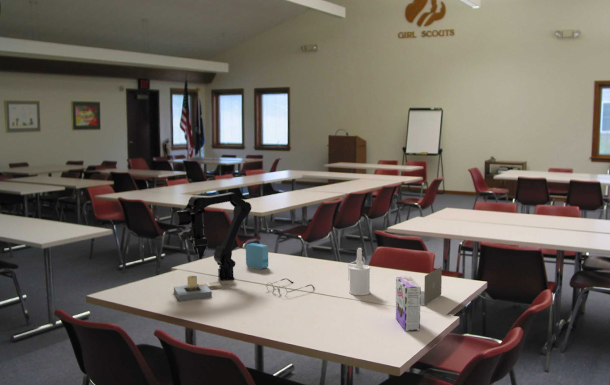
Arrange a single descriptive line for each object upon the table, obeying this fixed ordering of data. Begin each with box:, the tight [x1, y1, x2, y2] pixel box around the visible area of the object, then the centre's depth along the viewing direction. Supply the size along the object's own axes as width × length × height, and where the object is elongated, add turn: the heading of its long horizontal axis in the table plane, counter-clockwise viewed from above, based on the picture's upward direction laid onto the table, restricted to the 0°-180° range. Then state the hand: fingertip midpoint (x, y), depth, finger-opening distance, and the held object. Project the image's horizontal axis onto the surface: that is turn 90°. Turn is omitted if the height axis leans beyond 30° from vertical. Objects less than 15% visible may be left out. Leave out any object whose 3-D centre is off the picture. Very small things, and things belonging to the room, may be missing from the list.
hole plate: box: [173, 282, 213, 302], centre depth 248 cm, size 14×14×3 cm
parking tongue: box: [205, 281, 222, 290], centre depth 259 cm, size 6×6×2 cm
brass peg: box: [187, 275, 198, 292], centre depth 247 cm, size 4×4×8 cm
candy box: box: [395, 276, 422, 332], centre depth 207 cm, size 14×6×16 cm, turn 5°
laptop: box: [420, 266, 443, 307], centre depth 239 cm, size 18×12×13 cm
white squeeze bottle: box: [347, 247, 371, 297], centre depth 248 cm, size 10×9×20 cm
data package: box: [245, 242, 269, 270], centre depth 294 cm, size 12×4×12 cm, turn 52°
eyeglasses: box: [265, 278, 315, 297], centre depth 253 cm, size 16×19×5 cm
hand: (198, 256), depth 263 cm, fingers open, 9 cm apart
